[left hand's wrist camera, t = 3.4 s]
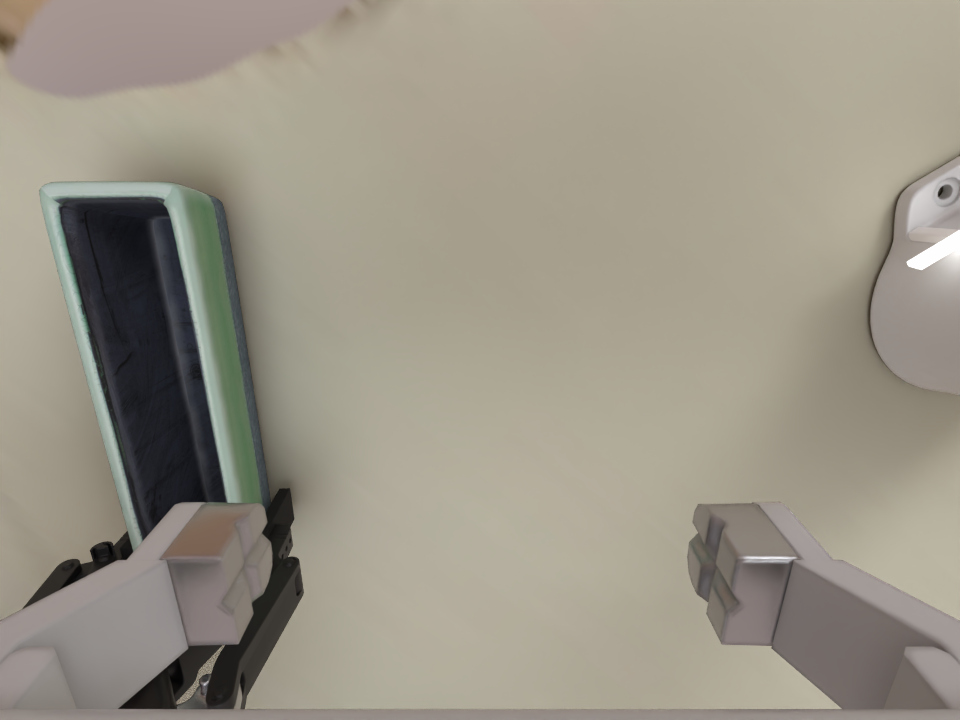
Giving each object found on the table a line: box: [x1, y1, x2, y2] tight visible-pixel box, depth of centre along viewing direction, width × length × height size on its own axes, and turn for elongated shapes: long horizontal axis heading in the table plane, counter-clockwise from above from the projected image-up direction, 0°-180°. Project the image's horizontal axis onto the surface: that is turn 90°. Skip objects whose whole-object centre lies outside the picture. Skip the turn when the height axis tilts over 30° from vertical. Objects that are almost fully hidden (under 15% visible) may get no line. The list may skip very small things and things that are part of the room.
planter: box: [39, 181, 271, 552], centre depth 35 cm, size 28×7×7 cm, turn 0°
